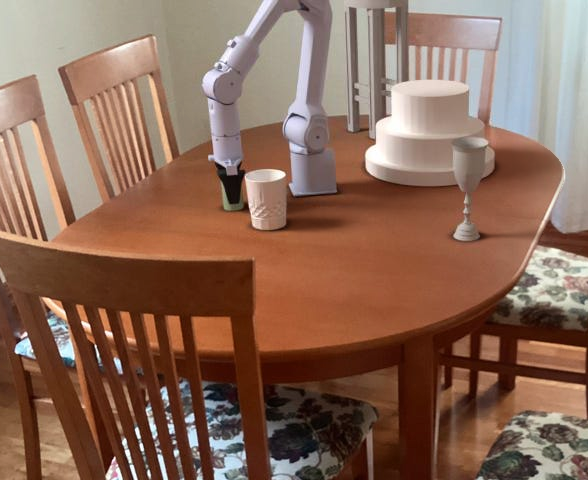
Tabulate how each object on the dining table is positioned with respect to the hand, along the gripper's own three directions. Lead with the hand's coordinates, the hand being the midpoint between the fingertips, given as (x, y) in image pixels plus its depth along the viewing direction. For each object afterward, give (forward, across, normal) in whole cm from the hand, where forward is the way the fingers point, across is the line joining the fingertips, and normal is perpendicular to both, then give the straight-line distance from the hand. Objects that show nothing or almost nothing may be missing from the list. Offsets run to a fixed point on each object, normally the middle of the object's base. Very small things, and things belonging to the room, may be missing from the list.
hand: (232, 199), depth 190 cm
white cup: (+2, +12, +6) cm, 14 cm away
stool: (+2, -50, +42) cm, 65 cm away
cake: (+2, -17, +47) cm, 50 cm away
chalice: (+2, +28, +42) cm, 51 cm away
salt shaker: (+2, 0, 0) cm, 2 cm away
